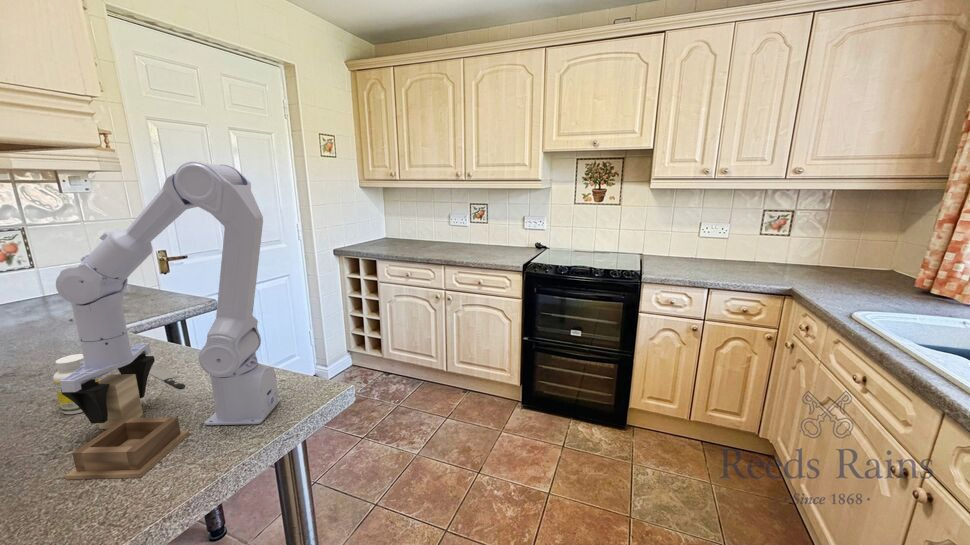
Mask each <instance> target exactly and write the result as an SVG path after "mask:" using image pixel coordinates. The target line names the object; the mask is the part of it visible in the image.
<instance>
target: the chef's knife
mask: <svg viewBox="0 0 970 545" xmlns="http://www.w3.org/2000/svg"><path fill="white" fill-rule="evenodd" d="M149 376H152V377H154V378H155V379H158V380H160V381H161V382H164V383H166V384H168V385H170V386H172V387H174V388H176V389H178V390H182V389H184V388H185V387H186V384H184V383H179V382H177V381H175V380H173V379H175V378H177V377H179V375H178V374H175V373H172V372H169V371H166V370H163V369H159V370H158V368H156V370H155V368H151V369H150V372H149Z"/></svg>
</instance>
